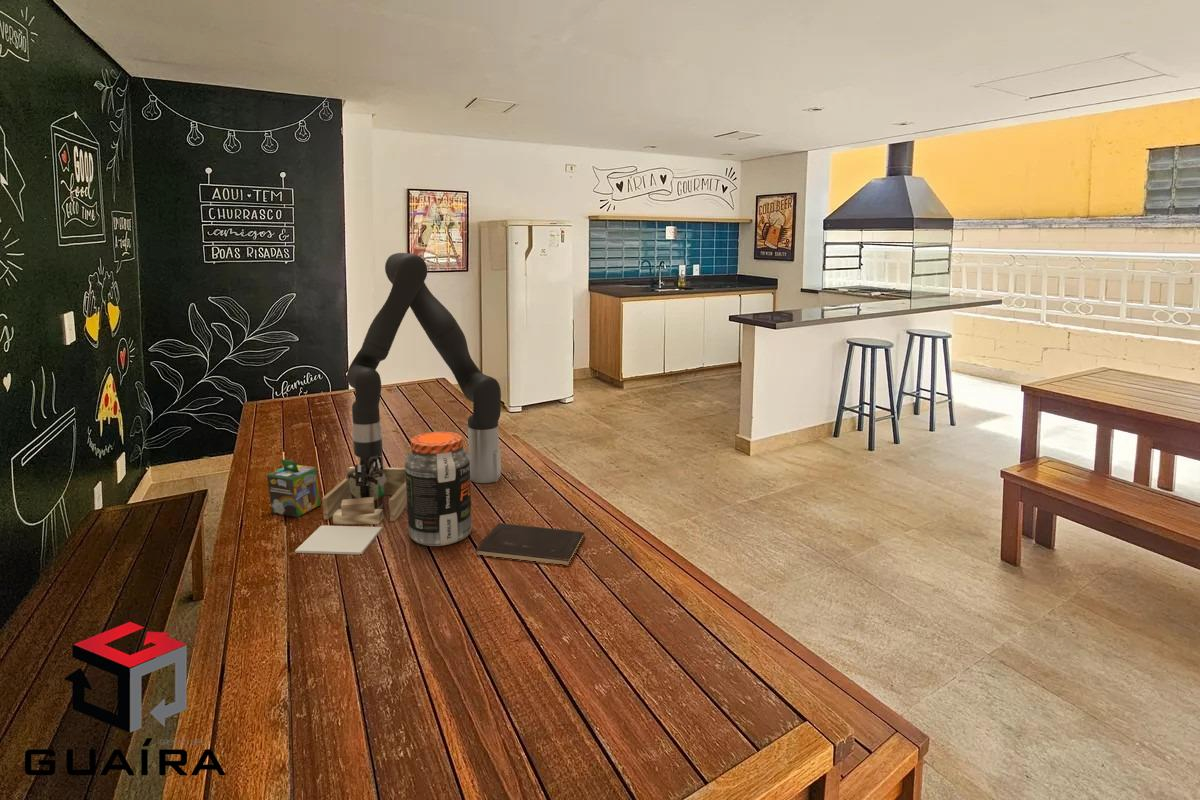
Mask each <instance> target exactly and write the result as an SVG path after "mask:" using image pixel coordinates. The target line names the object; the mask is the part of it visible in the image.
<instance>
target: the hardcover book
mask: <svg viewBox="0 0 1200 800" xmlns="http://www.w3.org/2000/svg"><path fill="white" fill-rule="evenodd" d="M582 538H583V539H584V538H585V531H579V530H570V529H562V528H561V529H560V528H552V527H550V528H549V527H540V526H532V525H522V524H515V523H505V522H504V523H503V522H498V523H497V524H496V525H495V526H494V527H493V529H492V530H491V531H490V532H489V533H488V534H487V535H486V536H485V538H484V539H483V540H482V542H481V543H480V544H479V545H478V546H477V547H476V548H475V551H476V552H477V553H476V554H478V555H477V556H479V555H484V556H483V557H487V556H493V557H492V558H496V557H504V558H512V559H521V560H530V561H539V562H548V563H556V564H564V565H568V564H569V565H570V563H571V561H572V560H571V558H572V557H574V556H575V554H576V552H577V550H578V548H579V547H578V546H580V545H579V544H581V543H582V541H583V539H582ZM581 540H582V541H581ZM580 542H581V543H580ZM577 547H578V548H577ZM576 549H577V550H576ZM575 551H576V552H575ZM574 553H575V554H574ZM573 555H574V556H573ZM504 558H503V559H504ZM512 559H511V560H512ZM572 559H573V558H572ZM521 560H520V561H521ZM570 560H571V561H570ZM569 562H570V563H569ZM569 565H568V566H569Z"/></svg>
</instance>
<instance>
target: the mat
mask: <svg viewBox="0 0 1200 800" xmlns="http://www.w3.org/2000/svg"><path fill="white" fill-rule="evenodd" d="M382 530H383V527H382V526H360V525H359V526H357V525H356V526H355V525H352V526H351V525H323V524H322V525H320V526H319V527H318V528H317V529H315V530H314V532H313V533H312V534H310V535H309V536H308V537H307V538H306V540H304V541H303V542H302V544H300V545H299V546H298V547H297V548H296V549H295V550H294V552H295V554H320V555H321V554H324V555H325V554H326V555H327V554H328V555H329V554H330V555H331V554H332V555H355V556H356V555H358V556H360V554H361V555H362V554H363V553H364V552H365V551H366V550H367V548H368V547H369V546H370V545H371V544H372V542H374V540H375V538H377V536H378V535H379V534H380V532H381V531H382Z"/></svg>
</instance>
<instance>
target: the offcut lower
mask: <svg viewBox="0 0 1200 800" xmlns="http://www.w3.org/2000/svg"><path fill="white" fill-rule="evenodd" d="M382 519H383V520H384V508H383V509H374V513H369V514H359V515H350V516H342V512H341V508H340V509H338V510H337V511H336V512H335V513H334V514H333V515H332V523H333V525H380V524H381V523H382V521H383V520H382ZM381 520H382V521H381ZM380 522H381V523H380ZM379 523H380V524H379Z"/></svg>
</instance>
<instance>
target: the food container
mask: <svg viewBox="0 0 1200 800" xmlns="http://www.w3.org/2000/svg"><path fill="white" fill-rule="evenodd" d="M345 478H346V479H348V483H349V489H350V495H351V498H350V499H356V498H361V494H360V486H356V482H355V470H353V471H349V470H348V471H346V475H345ZM366 479H367V478H366ZM362 482H363V480H362ZM385 482H386V478H385V474H384V473H383V472H382V471H381V470H378V469H375V471H373V474H372V478H370V481H369V495H370V497H374V504H375V509H383V510H384V483H385Z"/></svg>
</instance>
